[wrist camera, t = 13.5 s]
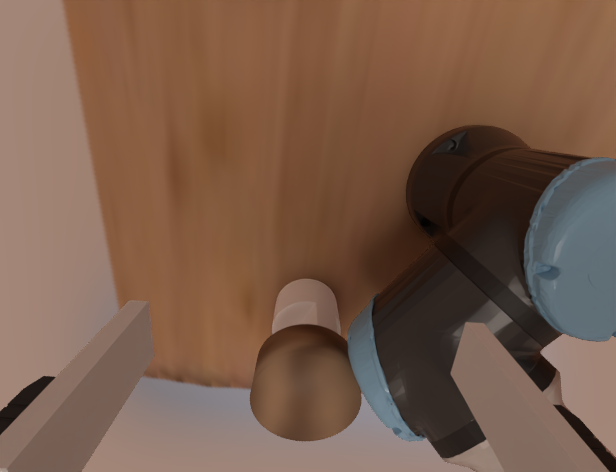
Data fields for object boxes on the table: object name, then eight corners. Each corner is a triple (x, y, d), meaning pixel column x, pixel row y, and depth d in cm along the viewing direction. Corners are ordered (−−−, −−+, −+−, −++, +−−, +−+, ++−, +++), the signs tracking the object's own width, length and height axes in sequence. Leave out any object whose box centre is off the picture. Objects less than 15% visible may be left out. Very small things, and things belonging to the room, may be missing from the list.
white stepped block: (298, 267, 46) (296, 317, 34) (349, 299, 48) (362, 356, 36) (264, 311, 48) (251, 371, 37) (312, 340, 50) (314, 406, 39)
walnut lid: (364, 332, 35) (373, 365, 30) (342, 406, 39) (347, 447, 34) (263, 317, 34) (257, 349, 30) (251, 395, 38) (244, 434, 34)
